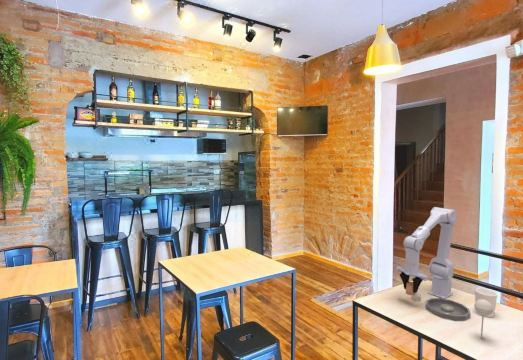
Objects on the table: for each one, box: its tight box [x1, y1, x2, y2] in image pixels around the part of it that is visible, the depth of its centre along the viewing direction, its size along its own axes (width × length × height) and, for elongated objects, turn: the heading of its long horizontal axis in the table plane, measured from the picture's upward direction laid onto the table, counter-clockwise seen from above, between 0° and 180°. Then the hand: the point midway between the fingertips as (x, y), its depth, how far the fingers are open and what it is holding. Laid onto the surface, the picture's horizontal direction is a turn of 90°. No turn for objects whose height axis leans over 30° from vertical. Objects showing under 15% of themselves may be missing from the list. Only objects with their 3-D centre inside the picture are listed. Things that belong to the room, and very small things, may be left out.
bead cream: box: [411, 288, 422, 302], centre depth 153 cm, size 4×4×5 cm
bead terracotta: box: [405, 281, 415, 296], centre depth 148 cm, size 4×4×5 cm
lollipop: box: [473, 299, 493, 339], centre depth 121 cm, size 6×6×15 cm
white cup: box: [474, 287, 498, 318], centre depth 140 cm, size 8×8×10 cm
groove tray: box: [425, 297, 471, 322], centre depth 142 cm, size 17×17×2 cm
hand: (410, 290), depth 148 cm, fingers closed on bead terracotta, 4 cm apart
